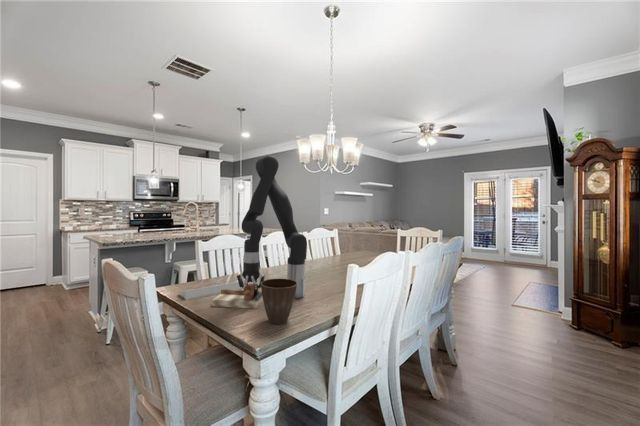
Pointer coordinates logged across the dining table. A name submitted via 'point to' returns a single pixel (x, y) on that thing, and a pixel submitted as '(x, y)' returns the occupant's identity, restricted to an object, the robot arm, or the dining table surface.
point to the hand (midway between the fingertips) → (250, 296)
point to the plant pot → (278, 298)
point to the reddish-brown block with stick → (249, 292)
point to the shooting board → (236, 299)
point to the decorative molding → (209, 290)
